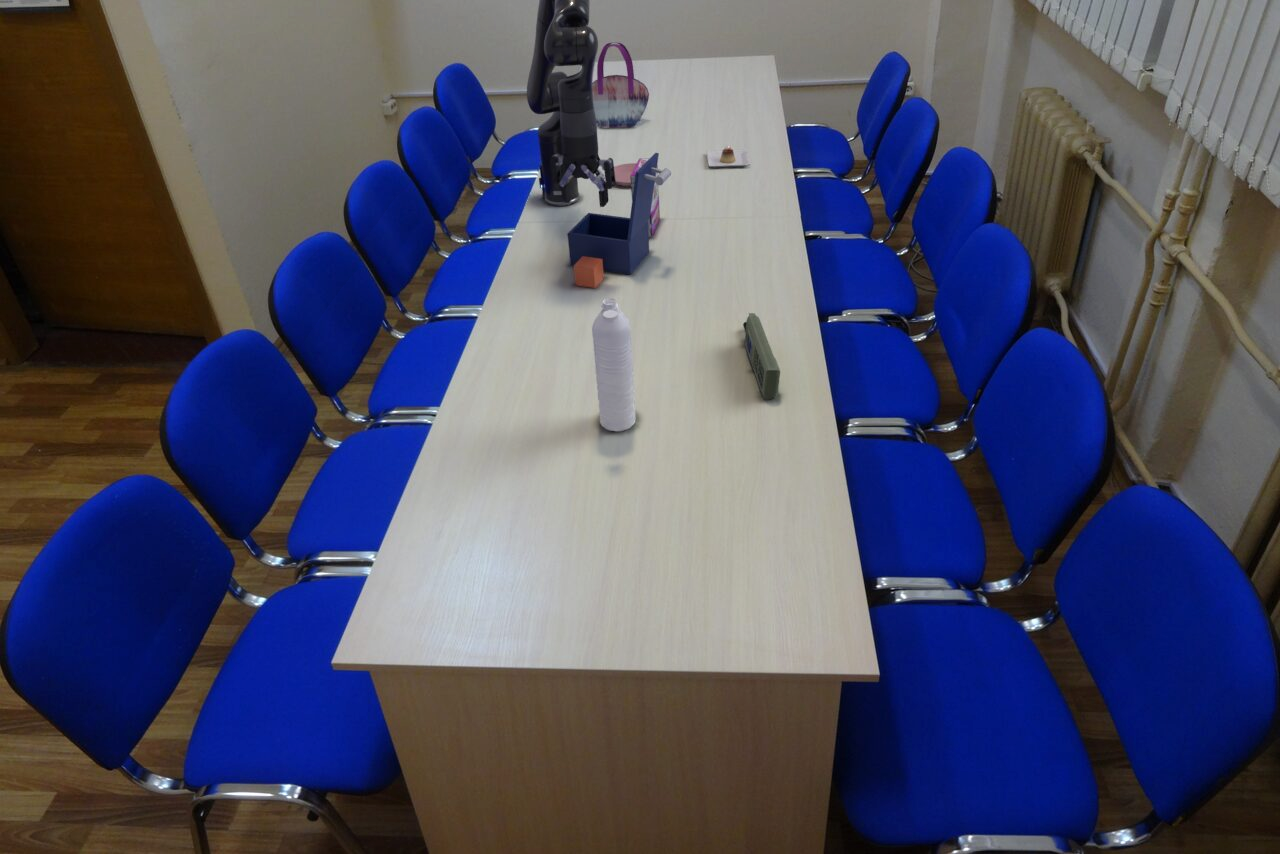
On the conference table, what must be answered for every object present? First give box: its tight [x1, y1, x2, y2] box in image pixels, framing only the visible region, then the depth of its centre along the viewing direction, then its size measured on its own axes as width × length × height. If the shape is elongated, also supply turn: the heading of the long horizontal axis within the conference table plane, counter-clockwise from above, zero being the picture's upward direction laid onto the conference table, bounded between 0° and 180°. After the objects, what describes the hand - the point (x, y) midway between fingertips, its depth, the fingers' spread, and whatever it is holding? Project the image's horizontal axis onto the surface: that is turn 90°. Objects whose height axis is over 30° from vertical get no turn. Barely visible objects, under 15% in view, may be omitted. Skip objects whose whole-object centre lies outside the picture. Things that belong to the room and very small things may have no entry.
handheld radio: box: [742, 312, 781, 401], centre depth 167 cm, size 7×3×25 cm
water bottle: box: [591, 297, 636, 432], centre depth 147 cm, size 9×6×25 cm
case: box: [566, 212, 650, 275], centre depth 204 cm, size 16×12×8 cm
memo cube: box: [573, 256, 605, 289], centre depth 196 cm, size 5×5×5 cm
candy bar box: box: [630, 157, 661, 239], centre depth 214 cm, size 11×5×16 cm, turn 168°
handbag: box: [592, 41, 650, 129], centre depth 276 cm, size 21×10×25 cm, turn 85°
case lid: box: [628, 152, 672, 240], centre depth 193 cm, size 16×12×5 cm
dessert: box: [706, 144, 751, 168], centre depth 251 cm, size 12×12×5 cm
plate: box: [614, 162, 637, 187], centre depth 244 cm, size 14×14×2 cm
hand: (585, 203), depth 188 cm, fingers open, 8 cm apart
